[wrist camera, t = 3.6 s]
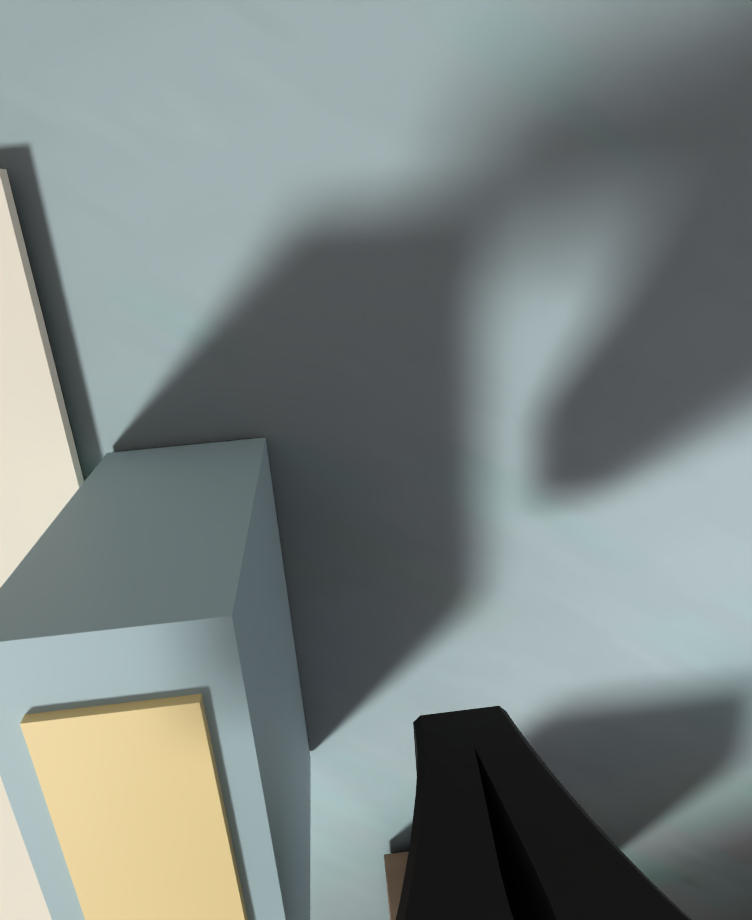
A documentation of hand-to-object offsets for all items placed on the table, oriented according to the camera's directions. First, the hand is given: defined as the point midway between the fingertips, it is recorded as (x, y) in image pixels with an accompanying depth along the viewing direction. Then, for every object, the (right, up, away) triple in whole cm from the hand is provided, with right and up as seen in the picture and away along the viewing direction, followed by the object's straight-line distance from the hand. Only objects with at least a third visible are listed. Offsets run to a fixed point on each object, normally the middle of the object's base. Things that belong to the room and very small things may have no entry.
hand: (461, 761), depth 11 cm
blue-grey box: (-5, +1, +4) cm, 6 cm away
